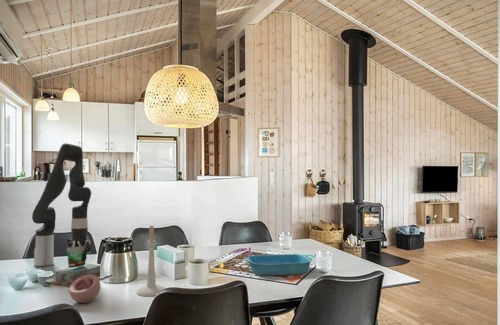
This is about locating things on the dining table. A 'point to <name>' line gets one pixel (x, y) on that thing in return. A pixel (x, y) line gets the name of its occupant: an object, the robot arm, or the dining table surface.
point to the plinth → (75, 274)
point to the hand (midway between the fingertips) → (79, 260)
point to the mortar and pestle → (85, 288)
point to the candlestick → (150, 271)
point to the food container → (75, 256)
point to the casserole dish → (279, 264)
